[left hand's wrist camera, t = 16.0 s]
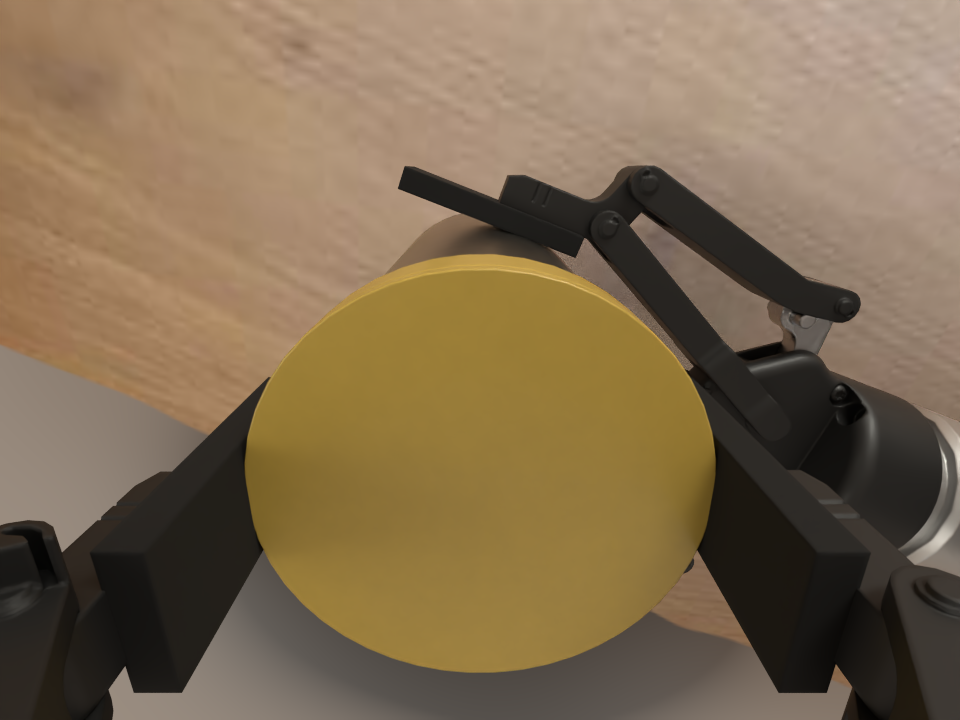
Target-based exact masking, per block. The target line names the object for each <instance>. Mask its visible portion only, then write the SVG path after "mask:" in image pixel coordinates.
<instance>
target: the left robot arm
mask: <svg viewBox="0 0 960 720" xmlns="http://www.w3.org/2000/svg"><path fill="white" fill-rule="evenodd" d="M270 378H271V377H268V378H267V379H266V380H265V381H264V382H263V383H262V384H261V385H260V386H259V387H258V388H257V389H256V390H255V391H254V392H253V393H252V394H251V395H250V396H249V397H248V398H247V399H246V400H245V401H244V402H243V403H242V404H241V405H240V406H239V407H238V408H237V409H236V410H235V411H234V412H233V413H231V414H230V415H229V416H228V417H227V418H226V419H225V420H224V421H223V422H222V423H221V424H220V425H219V426H218V427H217V428H216V429H215V430H214V431H213V432H212V433H211V434H210V435H209V436H208V437H207V438H206V439H205V440H204V441H203V442H202V443H201V444H200V445H199V446H198V447H197V448H196V449H195V450H194V451H193V452H192V453H191V454H190V455H189V456H188V457H187V458H186V459H185V460H184V461H182V462H181V463H180V464H179V465H178V466H177V467H176V468H175V469H174V470H173V471H172V472H159V473H157V474H156V475H154V476H152V477H150V478H148V479H147V480H145V481H143V482H141V483H139V484H138V485H136V486H134V487H133V488H132V489H131V490H130V491H129V492H128V493H127V494H126V495H125V496H124V497H122V498H121V499H120V500H119V501H118V502H117V505H116V506H113V507H112V508H110V509H109V510H108V511H107V512H106V513H105V514H104V515H103V516H102V517H101V520H98V521H96V522H95V523H94V524H93V525H92V526H91V527H90V528H89V529H88V530H86V531H85V532H84V533H83V534H82V535H81V536H80V537H79V538H78V539H77V540H75V541H74V542H73V543H72V544H71V545H70V546H69V547H68V548H67V549H66V550H65V551H63V552H61V549H60V546H59V543H58V540H57V537H56V534H55V531H54V528H53V526H51V525H49V524H48V523H46V522H44V521H31V520H27V521H20V522H13V523H7V524H4V525H1V526H0V720H112V717H113V706H112V699H111V696H110V693H109V690H108V689H109V688H110V686H111V685H112V684H113V682H114V681H115V679H116V678H117V677H118V675H119V674H120V672H121V671H122V670H123V668H124V667H125V666H126V669H127V672H128V676H129V679H130V682H131V685H132V688H133V691H134V693H182V692H183V690H184V688H185V686H186V684H187V683H188V681H189V679H190V678H191V676H192V674H193V672H194V671H195V669H196V667H197V665H198V663H199V662H200V660H201V658H202V657H203V655H204V653H205V651H206V649H207V648H208V646H209V644H210V642H211V641H212V639H213V637H214V635H215V634H216V632H217V630H218V628H219V627H220V625H221V623H222V621H223V620H224V618H225V616H226V614H227V613H228V611H229V609H230V607H231V606H232V604H233V602H234V600H235V599H236V597H237V595H238V593H239V592H240V590H241V588H242V586H243V585H244V583H245V581H246V579H247V578H248V576H249V574H250V572H251V571H252V569H253V567H254V565H255V564H256V562H257V560H258V558H259V557H260V555H261V553H262V551H263V548H262V546H261V544H260V542H259V540H258V537H257V534H256V531H255V528H254V523H253V518H252V513H251V507H250V502H249V496H248V490H247V485H246V478H245V465H244V462H245V454H246V446H247V437H248V433H249V429H250V426H251V422H252V419H253V415H254V412H255V408H256V406H257V404H258V402H259V400H260V398H261V395H262V393H263V391H264V389H265V387H266V385H267V382H268V381H269V379H270ZM690 378H691V380H692V382H693V384H694V386H695V388H696V390H697V392H698V394H699V396H700V398H701V400H702V402H703V404H704V407H705V410H706V414H707V417H708V420H709V424H710V427H711V430H712V435H713V442H714V449H715V456H716V475H715V482H714V488H713V494H712V499H711V505H710V510H709V516H708V521H707V526H706V530H705V533H704V536H703V539H702V541H701V543H700V545H699V547H698V549H697V550H698V552H699V554H700V556H701V557H702V559H703V561H704V563H705V564H706V566H707V568H708V570H709V571H710V573H711V575H712V577H713V578H714V580H715V582H716V584H717V585H718V587H719V589H720V591H721V592H722V594H723V596H724V598H725V599H726V601H727V603H728V605H729V606H730V608H731V610H732V612H733V613H734V615H735V617H736V619H737V620H738V622H739V624H740V626H741V627H742V629H743V631H744V633H745V635H746V636H747V638H748V640H749V642H750V643H751V645H752V647H753V649H754V650H755V652H756V654H757V656H758V657H759V659H760V661H761V663H762V664H763V666H764V668H765V670H766V671H767V673H768V675H769V677H770V678H771V680H772V682H773V684H774V685H775V687H776V689H777V691H778V692H779V693H827V690H828V687H829V684H830V681H831V678H832V675H833V671H834V668H835V665H837V666H838V667H839V669H840V670H841V672H842V673H843V674H844V676H845V677H846V679H847V680H848V681H849V683H850V684H851V686H852V690H851V693H850V696H849V699H848V702H847V705H846V708H845V711H844V714H843V717H842V720H960V577H959V576H956V575H954V574H951V573H948V572H945V571H942V570H939V569H937V568H931V567H925V566H919V565H914V564H913V563H912V562H911V561H910V560H909V559H908V558H907V557H906V556H905V555H903V554H902V553H901V552H900V551H899V550H898V549H897V548H896V547H895V546H894V545H892V544H891V543H890V542H889V541H888V540H887V539H886V538H885V537H884V536H883V535H881V534H880V533H879V532H878V531H877V530H876V529H875V528H874V527H873V526H872V525H870V524H869V523H868V522H867V521H866V520H865V519H861V518H860V515H859V514H858V513H857V512H856V511H855V510H854V509H853V508H852V507H851V506H850V505H848V504H845V503H844V502H845V501H844V500H843V499H842V498H841V497H840V496H839V495H837V494H836V493H835V492H834V491H833V490H832V489H831V488H830V487H829V486H828V485H826V484H825V483H823V482H821V481H819V480H818V479H816V478H814V477H812V476H810V475H809V474H807V473H805V472H803V471H801V470H786V469H785V468H784V467H783V466H782V465H781V464H780V463H779V462H778V461H777V460H776V459H775V458H774V457H773V456H772V455H771V454H770V453H769V452H768V451H767V450H766V449H765V448H764V447H763V446H762V445H761V444H760V443H759V442H758V441H757V440H756V439H755V438H754V437H753V436H752V435H751V434H750V433H748V432H747V431H746V430H745V429H744V428H743V427H742V426H741V425H740V424H739V423H738V422H737V421H736V420H735V419H734V418H733V417H732V416H731V415H730V414H729V413H728V412H727V411H726V410H725V409H724V408H723V407H722V406H721V405H720V404H719V403H718V402H717V401H716V400H715V399H714V398H713V397H712V396H711V395H710V394H709V393H708V392H707V391H706V390H705V389H704V388H703V387H702V386H700V385H699V384H698V383H697V382H696V381H695V380H694V379H693V378H692V377H690Z"/></svg>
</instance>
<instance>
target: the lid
mask: <svg viewBox="0 0 960 720" xmlns="http://www.w3.org/2000/svg"><path fill="white" fill-rule="evenodd" d="M244 465H245V478H246V485H247V490H248V496H249V502H250V507H251V513H252V518H253V523H254V528H255V531H256V534H257V537H258V540H259V542H260V544H261V546H262V548H263V550H264V552H265V554H266V555H267V558H268V559H269V561H270V563H271V565H272V566H273V568H274V569H275V571H276V572H277V573H278V575H279V576H280V578H281V579H282V581H283V582H284V583H285V585H286V586H287V587H288V588H289V589H290V590H291V592H292V593H293V594H294V595H295V596H296V597H297V598H298V599H299V600H300V602H301V603H302V604H303V605H305V606H306V607H307V608H308V609H309V610H310V611H311V612H313V613H314V614H315V615H316V616H317V617H318V618H320V619H321V620H322V621H323V622H325V623H326V624H327V625H329V626H330V627H332V628H333V629H335V630H336V631H338V632H339V633H341V634H342V635H344V636H345V637H347V638H349V639H351V640H353V641H355V642H357V643H358V644H360V645H362V646H364V647H366V648H368V649H370V650H373V651H375V652H378V653H380V654H383V655H385V656H388V657H390V658H393V659H397V660H400V661H403V662H407V663H410V664H413V665H417V666H423V667H428V668H433V669H438V670H445V671H456V672H467V673H492V672H493V673H495V672H505V671H515V670H523V669H528V668H533V667H538V666H542V665H547V664H551V663H554V662H557V661H560V660H564V659H567V658H570V657H573V656H575V655H578V654H580V653H583V652H585V651H587V650H590V649H592V648H594V647H597V646H598V645H600V644H602V643H604V642H606V641H608V640H609V639H611V638H613V637H615V636H617V635H618V634H620V633H622V632H623V631H624V630H626V629H627V628H629V627H630V626H631V625H633V624H634V623H636V622H637V621H639V620H640V619H641V618H642V617H643V616H645V615H646V614H647V613H648V612H649V611H650V610H651V609H652V608H654V607H655V606H656V605H657V604H658V603H659V602H660V601H661V600H662V599H663V598H664V597H665V595H666V594H667V593H668V592H669V591H670V590H671V589H672V588H673V586H674V585H675V584H676V583H677V582H678V580H679V579H680V577H681V576H682V574H683V573H684V571H685V570H686V568H687V567H688V565H689V564H690V562H691V561H692V559H693V557H694V555H695V553H696V551H697V549H698V547H699V545H700V543H701V541H702V539H703V536H704V533H705V530H706V526H707V521H708V516H709V510H710V505H711V499H712V494H713V488H714V482H715V475H716V456H715V449H714V442H713V435H712V430H711V427H710V424H709V420H708V417H707V414H706V410H705V407H704V404H703V402H702V400H701V398H700V396H699V394H698V392H697V390H696V388H695V386H694V384H693V382H692V380H691V378H690V377H689V375H688V374H687V372H686V371H685V370H684V368H683V367H682V365H681V364H680V362H679V361H678V359H677V358H676V356H675V355H674V354H673V353H672V352H671V351H670V350H669V349H668V347H667V346H666V345H665V344H664V343H663V342H662V341H661V340H660V339H659V338H658V337H657V336H656V335H655V334H654V333H653V332H652V331H651V330H650V329H649V328H648V327H647V326H646V325H645V324H644V323H643V322H642V321H641V320H640V319H638V318H637V317H636V316H635V315H634V314H633V313H632V312H631V311H630V310H629V309H628V308H626V307H625V306H624V305H622V304H621V303H620V302H619V301H617V300H616V299H615V298H614V297H612V296H611V295H610V294H609V293H607V292H606V291H604V290H602V289H601V288H599V287H597V286H596V285H594V284H592V283H590V282H589V281H587V280H585V279H584V278H582V277H580V276H577V275H575V274H572V273H570V272H568V271H565V270H563V269H560V268H558V267H555V266H553V265H549V264H545V263H541V262H537V261H534V260H530V259H526V258H520V257H512V256H504V255H496V254H468V255H456V256H449V257H442V258H435V259H430V260H427V261H423V262H419V263H416V264H412V265H409V266H405V267H402V268H400V269H398V270H395V271H393V272H391V273H388V274H386V275H384V276H381V277H379V278H377V279H375V280H373V281H372V282H370V283H368V284H367V285H365V286H363V287H362V288H360V289H358V290H357V291H355V292H353V293H352V294H350V295H349V296H348V297H347V298H345V299H344V300H343V301H342V302H341V303H339V304H338V305H337V306H336V307H335V308H333V309H332V310H331V311H330V312H328V313H327V314H326V315H325V316H324V317H323V318H322V319H321V320H320V321H319V322H318V323H317V324H316V325H315V326H314V327H312V328H311V329H310V330H309V331H308V332H307V333H306V334H305V335H304V336H303V337H302V338H301V339H300V341H299V342H298V343H297V344H296V345H295V346H294V347H293V348H292V349H291V350H290V352H289V353H288V354H287V355H286V356H285V357H284V358H283V360H282V361H281V363H280V364H279V366H278V367H277V369H276V370H275V372H274V373H273V375H272V376H271V378H270V379H269V381H268V382H267V385H266V387H265V389H264V391H263V393H262V395H261V398H260V400H259V402H258V404H257V406H256V408H255V412H254V415H253V419H252V422H251V426H250V429H249V433H248V437H247V446H246V454H245V462H244Z"/></svg>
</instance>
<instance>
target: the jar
mask: <svg viewBox="0 0 960 720" xmlns="http://www.w3.org/2000/svg"><path fill="white" fill-rule="evenodd" d="M468 254H496V255H504V256H512V257H520V258H526V259H530V260H534V261H537V262H541V263H545V264H549V265H553V266H555V267H558V268H560V269H563V270H565V271H568V272H570V273H572V274H574V273H573V272H572V270H571V269H570V268H569V267H568V266H567V265H566V264H565V263H564V262H563V261H562V259H561V258H560V257H559V256H558V255H557V254H556V253H555V252H554V251H553V250H552V249H551V248H549V247H546V246H544V245H541V244H539V243H536V242H533V241H531V240H528V239H526V238H523V237H521V236H518V235H515V234H513V233H510V232H508V231H505V230H503V229H500V228H497V227H495V226H492V225H490V224H487V223H485V222H482V221H480V220H477V219H474V218H472V217H469V216H467V215H464V214H459V215H455V216H452V217H450V218H447V219H444V220H442V221H441V222H439V223H437V224H435V225H433V226H432V227H431V228H429V229H428V230H427V231H425V232H424V233H423V234H422V235H421V236H420V237H419V238H418V239H417V240H416V241H415V242H414V243H413V244H412V245H411V246H410V247H409V249H408V250H407V251H406V252H405V253H404V254H403V255H402V256H401V257H400V258H399V260H398V261H397V262H396V263H395V264H394V265H393V266H392V267H391V268H390V270H389V271H388V272H387V273H386V274H388V273H391V272H393V271H395V270H398V269H400V268H402V267H405V266H409V265H412V264H416V263H419V262H423V261H427V260H430V259H435V258H442V257H449V256H456V255H468ZM386 274H385V275H386Z"/></svg>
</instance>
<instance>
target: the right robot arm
mask: <svg viewBox="0 0 960 720" xmlns="http://www.w3.org/2000/svg"><path fill="white" fill-rule="evenodd" d="M398 189H400V190H403V191H405V192H408V193H410V194H413V195H415V196H418V197H421V198H423V199H426V200H428V201H431V202H433V203H436V204H439V205H441V206H444V207H446V208H449V209H451V210H454V211H456V212H459V213H462V214H464V215H467V216H469V217H472V218H474V219H477V220H480V221H482V222H485V223H487V224H490V225H492V226H495V227H497V228H500V229H503V230H505V231H508V232H510V233H513V234H515V235H518V236H521V237H523V238H526V239H528V240H531V241H533V242H536V243H539V244H541V245H544V246H546V247H549V248H551V249H554V250H556V251H559V252H562V253H564V254H567V255H569V256H572V257H574V258H576V256H577V253H578V251H579V249H580V247H581V244H582V242H583V240H584V238H586V239H587V240H588V241H589V242H590V243H591V244H592V246H593V247H594V248H595V249H596V250H597V251H598V253H599V254H600V255H601V256H602V257H603V259H604V260H605V261H606V262H607V263H608V264H609V266H610V267H611V268H612V269H613V270H614V271H615V273H616V274H617V275H618V276H619V277H620V279H621V280H622V281H623V282H624V283H625V284H626V286H627V287H628V288H629V289H630V290H631V292H632V293H633V294H634V295H635V296H636V297H637V299H638V300H639V301H640V302H641V303H642V305H643V306H644V307H645V308H646V309H647V310H648V312H649V313H650V314H651V315H652V316H653V318H654V319H655V320H656V321H657V322H658V323H659V325H660V326H661V327H662V328H663V329H664V330H665V332H666V333H667V334H668V335H669V336H670V338H671V339H672V340H673V341H674V343H675V344H676V346H677V347H678V348H679V349H680V351H681V352H682V353H683V354H684V355H685V356H686V358H687V359H688V360H689V361H690V362H691V364H692V365H693V366H694V367H693V368H692V369H691V370H690V371H688V370H685V369H684V370H685V371H686V372H687V374H688V375H689V377H692V378H693V379H694V380H695V381H696V382H697V383H698V384H699V385H700V386H702V387H703V388H704V389H705V390H706V391H707V392H708V393H709V394H710V395H711V396H712V397H713V398H714V399H715V400H716V401H717V402H718V403H719V404H720V405H721V406H722V407H723V408H724V409H725V410H726V411H727V412H728V413H729V414H730V415H731V416H732V417H733V418H734V419H735V420H736V421H737V422H738V423H739V424H740V425H741V426H742V427H743V428H744V429H745V430H746V431H747V432H748V433H750V434H751V435H752V436H753V437H754V438H755V439H756V440H757V441H758V442H759V443H760V444H761V445H762V446H763V447H764V448H765V449H766V450H767V451H768V452H769V453H770V454H771V455H772V456H773V457H774V458H775V459H776V460H777V461H778V462H779V463H780V464H781V465H782V466H783V467H784V468H785V469H786V470H801V471H803V472H805V473H807V474H809V475H810V476H812V477H814V478H816V479H818V480H819V481H821V482H823V483H825V484H826V485H828V486H829V487H830V488H831V489H832V490H833V491H834V492H835V493H836V494H837V495H839V496H840V497H841V498H842V499H843V500H844V501H845V502H844V503H845V504H848V505H850V506H851V507H852V508H853V509H854V510H855V511H856V512H857V513H858V514H859V515H860V518H861V519H865V520H866V521H867V522H868V523H869V524H870V525H872V526H873V527H874V528H875V529H876V530H877V531H878V532H879V533H880V534H881V535H883V536H884V537H885V538H886V539H887V540H888V541H889V542H890V543H891V544H892V545H894V546H895V547H896V548H897V549H898V550H899V551H900V552H901V553H902V554H903V555H905V556H906V557H907V558H908V559H909V560H910V561H911V562H912V563H913V564H914V565H919V566H925V567H931V568H937V569H939V570H942V571H945V572H948V573H951V574H954V575H956V576H959V577H960V422H959V421H957V420H954V419H952V418H949V417H947V416H944V415H942V414H939V413H937V412H934V411H931V410H929V409H926V408H924V407H921V406H918V405H916V404H912V403H908V402H907V401H905V400H903V399H901V398H899V397H897V396H894V395H891V394H889V393H886V392H884V391H881V390H878V389H876V388H873V387H871V386H868V385H865V384H863V383H860V382H858V381H855V380H852V379H850V378H847V377H845V376H842V375H839V374H837V373H834V372H832V371H829V370H828V369H827V367H826V366H825V364H824V362H823V361H822V360H821V358H820V357H819V356H817V354H818V352H819V350H820V348H821V346H822V344H823V342H824V340H825V338H826V336H827V334H828V332H829V330H830V328H831V326H832V323H833V322H837V323H843V322H846V321H849V320H850V319H852V318H853V317H854V316H855V315H856V314H857V312H858V311H859V308H860V305H861V303H860V298H859V296H858V295H857V294H856V293H854V292H852V291H849V290H846V289H843V288H840V287H837V286H834V285H831V284H828V283H825V282H822V281H819V280H816V279H813V278H809V277H805V276H802V275H800V274H799V273H798V272H797V271H795V270H794V269H793V268H791V267H790V266H789V265H787V264H786V263H785V262H783V261H782V260H781V259H779V258H778V257H777V256H775V255H774V254H773V253H771V252H770V251H769V250H767V249H766V248H765V247H764V246H762V245H761V244H760V243H758V242H757V241H756V240H754V239H753V238H752V237H750V236H749V235H748V234H746V233H745V232H744V231H742V230H741V229H740V228H738V227H737V226H736V225H734V224H733V223H732V222H730V221H729V220H728V219H727V218H725V217H724V216H723V215H721V214H720V213H719V212H717V211H716V210H715V209H713V208H712V207H711V206H709V205H708V204H707V203H705V202H704V201H703V200H701V199H700V198H699V197H697V196H696V195H695V194H694V193H692V192H691V191H690V190H688V189H687V188H686V187H684V186H683V185H682V184H680V183H679V182H678V181H676V180H675V179H674V178H672V177H671V176H670V175H668V174H667V173H666V172H664V171H663V170H662V169H660V168H658V167H656V166H627V167H625V168H623V169H621V170H620V171H619V172H618V173H617V175H616V177H615V179H614V181H613V182H612V184H611V185H610V186H609V187H608V188H607V189H606V190H605V191H604V192H603V193H602V194H601V195H600V196H598V197H596V198H594V199H590V200H585V199H582V198H580V197H577V196H575V195H573V194H570V193H568V192H565V191H563V190H560V189H558V188H555V187H553V186H550V185H548V184H545V183H543V182H540V181H538V180H536V179H533V178H531V177H528V176H526V175H507V178H506V181H505V183H504V186H503V189H502V192H501V194H500V197H499V200H497V199H495V198H492V197H489V196H487V195H484V194H482V193H479V192H477V191H474V190H472V189H469V188H467V187H464V186H462V185H459V184H457V183H454V182H452V181H449V180H447V179H444V178H442V177H439V176H437V175H434V174H432V173H429V172H426V171H424V170H421V169H419V168H416V167H410V166H405V167H404V170H403V174H402V177H401V180H400V183H399V187H398ZM640 213H643V214H644V215H646V216H647V217H648V218H650V219H651V220H652V221H654V222H655V223H656V224H658V225H659V226H661V227H662V228H663V229H665V230H666V231H667V232H669V233H670V234H672V235H673V236H674V237H676V238H677V239H678V240H680V241H681V242H682V243H684V244H685V245H687V246H688V247H689V248H691V249H692V250H693V251H695V252H696V253H698V254H699V255H700V256H702V257H703V258H704V259H706V260H707V261H709V262H710V263H711V264H713V265H714V266H715V267H717V268H718V269H719V270H721V271H722V272H724V273H725V274H726V275H728V276H729V277H730V278H732V279H733V280H735V281H736V282H737V283H739V284H740V285H741V286H743V287H744V288H746V289H747V290H749V291H751V292H752V293H754V294H757V295H759V296H761V297H763V298H765V299H767V300H770V302H769V303H768V305H767V309H768V311H769V317H770V319H771V321H772V322H774V323H775V324H777V325H779V326H780V327H781V329H782V331H783V340H782V342H776V343H771V344H767V345H763V346H759V347H755V348H751V349H747V350H743V351H739V352H734V351H733V350H732V349H731V348H730V347H729V346H728V345H727V344H726V343H725V342H724V341H723V340H722V339H721V338H720V336H719V335H718V334H717V333H716V332H715V330H714V329H713V328H712V327H711V325H710V324H709V323H708V322H707V320H706V319H705V318H704V317H703V316H702V314H701V313H700V312H699V311H698V309H697V308H696V307H695V306H694V305H693V303H692V302H691V301H690V300H689V298H688V297H687V296H686V295H685V293H684V292H683V291H682V290H681V289H680V287H679V286H678V285H677V284H676V282H675V281H674V280H673V279H672V277H671V276H670V275H669V274H668V273H667V271H666V270H665V269H664V268H663V266H662V265H661V264H660V263H659V261H658V260H657V259H656V258H655V257H654V255H653V254H652V253H651V252H650V250H649V249H648V248H647V247H646V245H645V244H644V243H643V242H642V241H641V239H640V238H639V237H638V236H637V234H636V233H635V232H634V231H633V229H632V228H631V227H630V226H629V225H630V224H631V223H632V222H633V221H634V219H635V218H636V217H637V216H638V215H639V214H640ZM693 565H694V559H692V561H691V562H690V564H689V565H688V567H687V568H686V570H685V571H684V573H686V572H688V571H689V570H690V569H692V567H693ZM684 573H683V574H684Z"/></svg>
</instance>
